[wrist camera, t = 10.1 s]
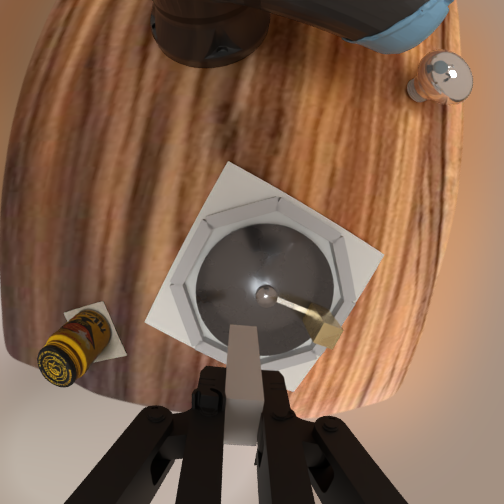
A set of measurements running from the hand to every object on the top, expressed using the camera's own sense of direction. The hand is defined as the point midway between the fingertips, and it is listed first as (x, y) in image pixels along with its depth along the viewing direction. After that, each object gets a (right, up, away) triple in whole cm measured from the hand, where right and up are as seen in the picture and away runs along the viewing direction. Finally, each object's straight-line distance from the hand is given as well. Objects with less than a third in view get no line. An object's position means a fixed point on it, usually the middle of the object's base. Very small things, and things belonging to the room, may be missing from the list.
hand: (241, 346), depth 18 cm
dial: (+2, +1, +20) cm, 20 cm away
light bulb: (+23, +27, +18) cm, 40 cm away
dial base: (+2, +1, +22) cm, 22 cm away
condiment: (-22, -6, +23) cm, 32 cm away
